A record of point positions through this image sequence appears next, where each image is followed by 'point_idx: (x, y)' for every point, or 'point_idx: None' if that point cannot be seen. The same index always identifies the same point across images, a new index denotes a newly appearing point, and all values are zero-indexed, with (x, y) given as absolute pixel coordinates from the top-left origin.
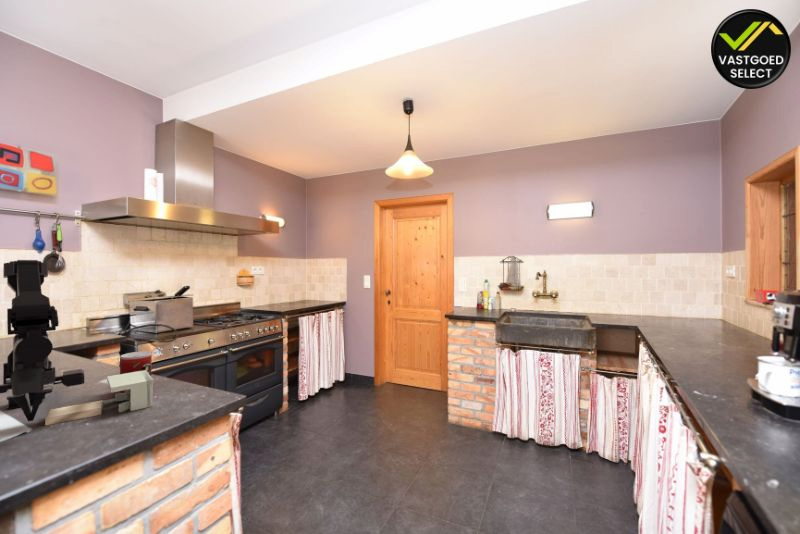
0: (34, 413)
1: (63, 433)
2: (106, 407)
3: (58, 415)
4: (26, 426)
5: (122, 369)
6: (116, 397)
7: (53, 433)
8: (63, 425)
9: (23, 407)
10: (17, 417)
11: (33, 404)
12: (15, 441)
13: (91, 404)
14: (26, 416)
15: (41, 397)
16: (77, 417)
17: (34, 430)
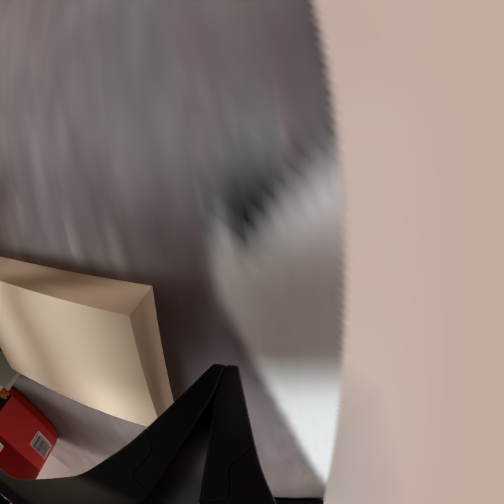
0: (190, 396)
1: (48, 51)
2: None
3: (73, 305)
4: (252, 347)
5: (3, 469)
6: (10, 375)
7: (82, 76)
8: (62, 203)
9: (241, 462)
10: (299, 458)
11: (166, 459)
12: (274, 56)
13: (17, 351)
14: (239, 392)
15: (84, 483)
16: (32, 268)
17: (191, 228)
